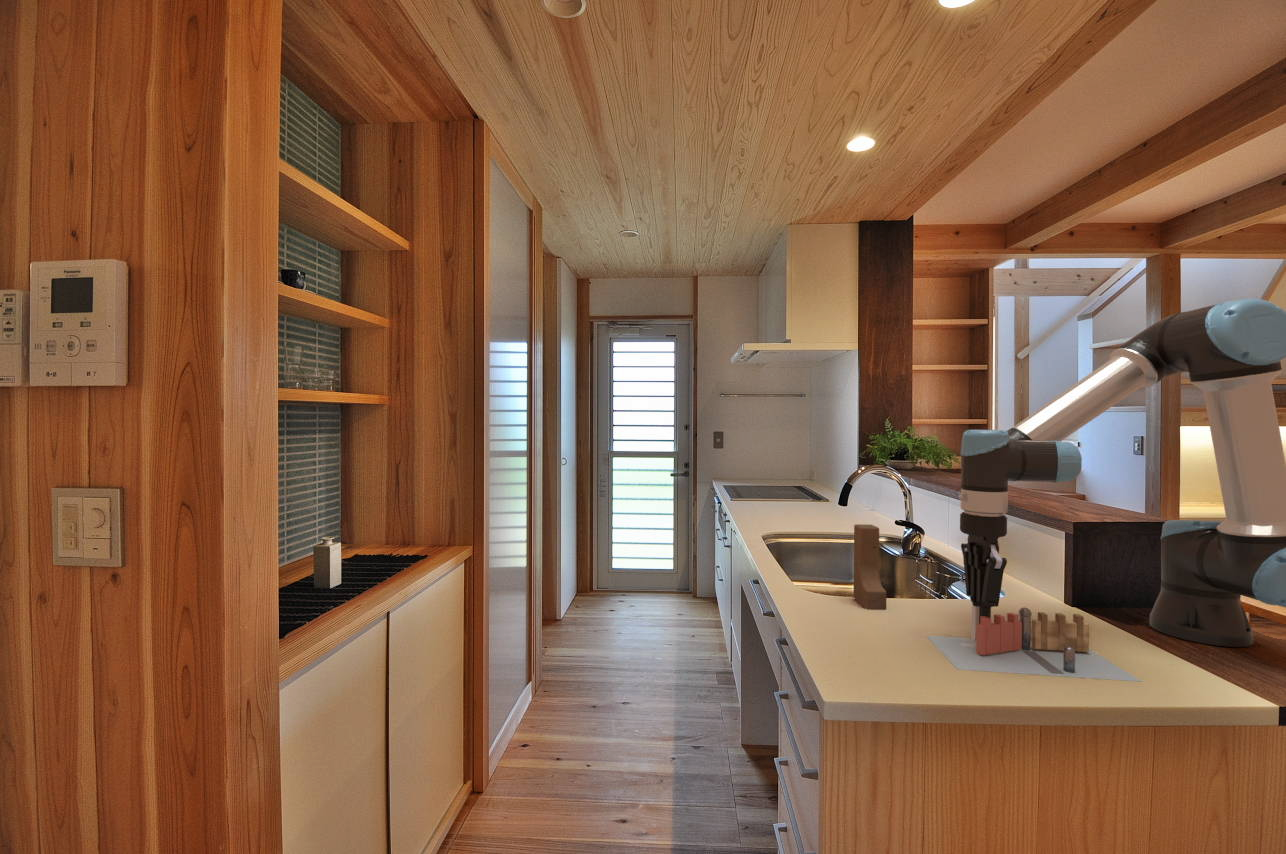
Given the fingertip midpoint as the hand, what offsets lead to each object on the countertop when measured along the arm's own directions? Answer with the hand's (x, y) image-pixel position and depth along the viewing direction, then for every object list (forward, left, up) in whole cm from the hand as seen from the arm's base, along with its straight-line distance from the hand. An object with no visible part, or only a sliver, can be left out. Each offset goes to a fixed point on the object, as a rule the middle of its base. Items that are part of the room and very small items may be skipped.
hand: (981, 639), depth 108 cm
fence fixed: (-14, -1, -2) cm, 14 cm away
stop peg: (-10, +9, -2) cm, 14 cm away
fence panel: (-2, +2, -1) cm, 3 cm away
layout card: (-6, +3, -2) cm, 7 cm away
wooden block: (+14, -25, -2) cm, 29 cm away
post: (-8, -1, -2) cm, 8 cm away
